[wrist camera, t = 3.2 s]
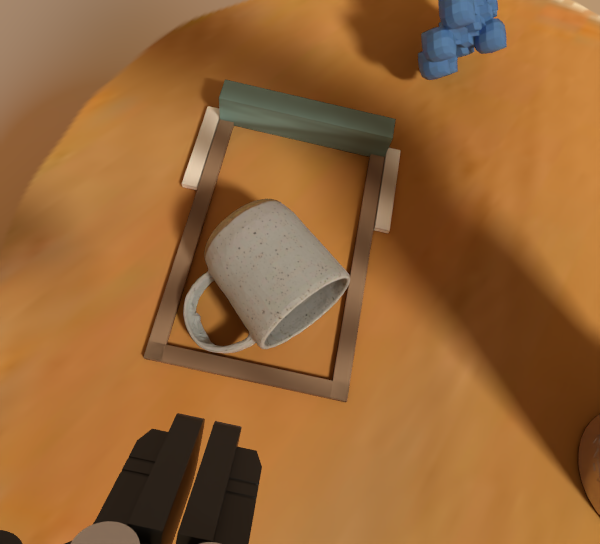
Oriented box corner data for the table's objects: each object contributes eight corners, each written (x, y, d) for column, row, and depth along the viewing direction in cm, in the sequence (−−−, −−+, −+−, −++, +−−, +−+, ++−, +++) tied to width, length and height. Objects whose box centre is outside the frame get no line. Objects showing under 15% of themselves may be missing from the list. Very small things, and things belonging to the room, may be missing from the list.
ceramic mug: (277, 224, 41) (283, 170, 34) (342, 302, 39) (363, 263, 32) (162, 298, 38) (143, 256, 31) (227, 388, 36) (222, 365, 29)
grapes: (444, 134, 46) (508, 24, 35) (383, 93, 47) (427, -26, 36) (504, 62, 51) (578, -56, 40) (447, 26, 52) (503, -99, 41)
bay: (363, 406, 36) (374, 399, 34) (125, 354, 36) (116, 343, 33) (400, 144, 45) (410, 122, 43) (211, 100, 45) (209, 75, 42)
